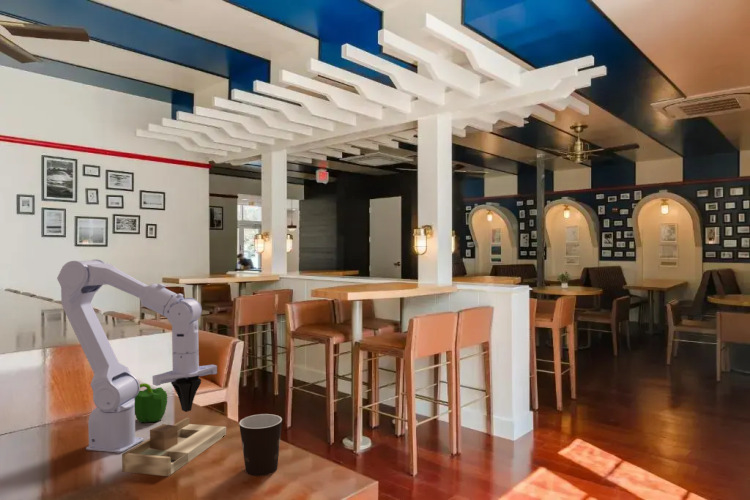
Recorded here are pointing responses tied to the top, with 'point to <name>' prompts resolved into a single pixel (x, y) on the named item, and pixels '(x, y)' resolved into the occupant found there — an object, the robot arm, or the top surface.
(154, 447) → the walnut block
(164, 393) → the bell pepper
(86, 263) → the robot arm
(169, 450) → the birch tray
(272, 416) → the black cup
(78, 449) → the top surface
